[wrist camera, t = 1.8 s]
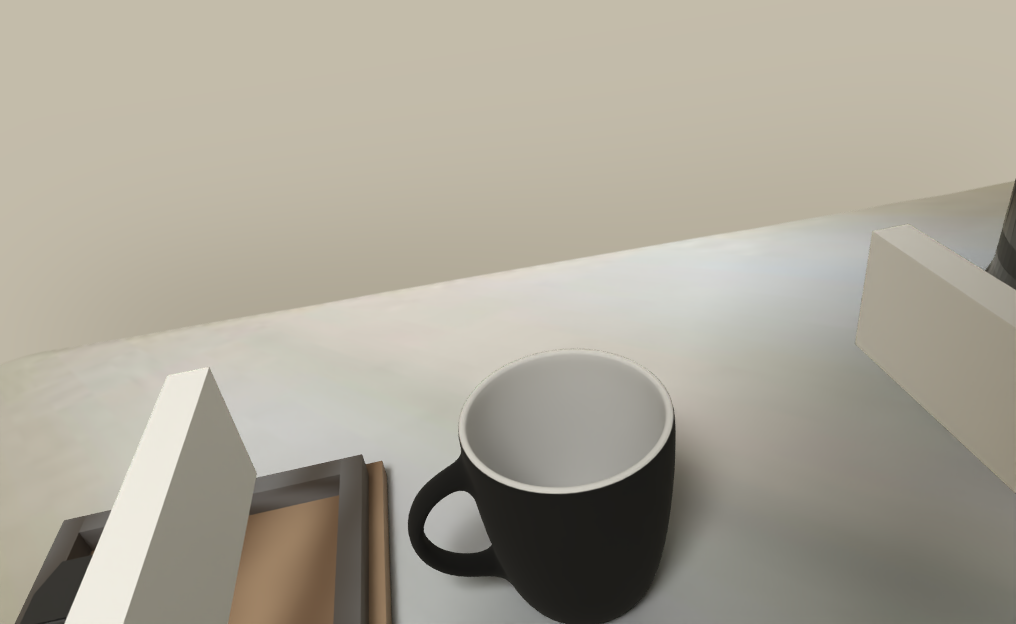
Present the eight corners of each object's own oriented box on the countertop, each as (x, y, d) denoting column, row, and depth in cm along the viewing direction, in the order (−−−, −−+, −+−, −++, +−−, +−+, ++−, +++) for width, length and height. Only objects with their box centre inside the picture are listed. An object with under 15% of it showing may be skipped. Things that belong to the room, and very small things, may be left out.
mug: (634, 480, 39) (625, 328, 33) (711, 620, 31) (716, 454, 26) (421, 540, 37) (375, 392, 32) (448, 703, 30) (395, 545, 24)
